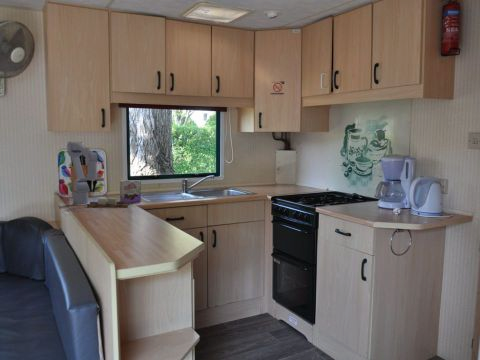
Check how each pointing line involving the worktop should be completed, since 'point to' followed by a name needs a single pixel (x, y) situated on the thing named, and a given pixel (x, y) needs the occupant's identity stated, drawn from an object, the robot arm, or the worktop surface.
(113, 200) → the sage block
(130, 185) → the candy box
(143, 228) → the worktop surface
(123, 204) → the walnut chute
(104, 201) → the white block
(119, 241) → the worktop surface
